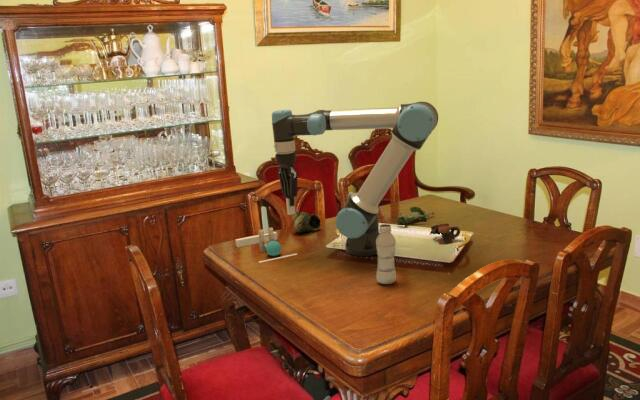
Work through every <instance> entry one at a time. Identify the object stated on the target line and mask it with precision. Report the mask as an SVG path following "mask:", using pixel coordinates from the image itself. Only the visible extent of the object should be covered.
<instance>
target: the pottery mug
mask: <svg viewBox="0 0 640 400" xmlns="http://www.w3.org/2000/svg"><path fill="white" fill-rule="evenodd" d="M430 229H431V231H430V232H429V234H430V235H440V233H441V234H442V235H441V237H440V238H438V239H437V242H438V244H439V245H443V244H453V241H454V240H455V239H456V238H457V237H459V236H460V234H461V229H460V227H459V226H450V224H449V223H440V224H436V225H433V226H431V227H430ZM455 231H456V233H455Z"/></svg>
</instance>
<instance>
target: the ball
mask: <svg viewBox="0 0 640 400" xmlns="http://www.w3.org/2000/svg"><path fill="white" fill-rule="evenodd" d="M266 245H267V246H266V250H265V252H266V253H267V254H268V255H269V256H271V257H276V256H277V257H278V256H279V255H280V254H281V252H282V245H281V244H280V242H279V241H277V240H274V241H271V242H269V241H268V243H266Z"/></svg>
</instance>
